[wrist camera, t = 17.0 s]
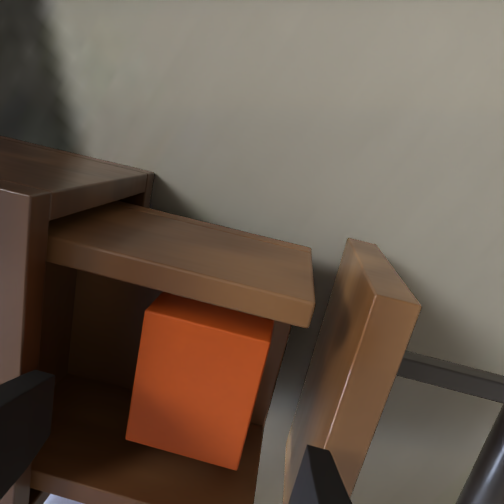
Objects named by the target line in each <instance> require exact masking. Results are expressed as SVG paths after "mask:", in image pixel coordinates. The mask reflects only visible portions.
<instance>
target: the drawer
mask: <svg viewBox="0 0 504 504" xmlns="http://www.w3.org/2000/svg"><path fill="white" fill-rule="evenodd" d="M162 292H167V293H171V294H174V295H178V296H182V297H186V298H190V299H194V300H198V301H202V302H206V303H209V304H213V305H217V306H221V307H225V308H229V309H233V310H237V311H240V312H244V313H248V314H252V315H256V316H260V317H264V318H268V319H271V320H274V326H273V332H272V339H271V344H270V348H269V352H268V356H267V360H266V364H265V367H264V371H263V375H262V379H261V383H260V386H259V390H258V394H257V398H256V402H255V405H254V409H253V413H252V417H251V421H250V424H249V428H248V432H247V436H246V440H245V444H244V447H243V451H242V455H241V459H240V463H239V466H238V469H237V470H232V469H228V468H225V467H221V466H217V465H214V464H210V463H207V462H203V461H200V460H196V459H193V458H189V457H186V456H182V455H179V454H175V453H172V452H168V451H164V450H161V449H157V448H154V447H150V446H147V445H143V444H140V443H136V442H133V441H129V440H126V439H125V436H126V430H127V423H128V417H129V410H130V404H131V397H132V391H133V384H134V378H135V371H136V365H137V358H138V352H139V345H140V339H141V332H142V326H143V319H144V313H145V310H146V309H147V308H148V307H149V306H150V305H151V304H152V303H153V301H154V300H155V299H156V298H157V297H158V296H159V295H160V294H161V293H162ZM315 306H316V304H315V292H314V279H313V267H312V254H311V248H309V247H305V246H301V245H297V244H293V243H289V242H284V241H280V240H276V239H272V238H268V237H264V236H260V235H256V234H252V233H248V232H244V231H240V230H236V229H231V228H227V227H223V226H219V225H215V224H211V223H207V222H203V221H199V220H195V219H191V218H187V217H182V216H178V215H174V214H170V213H166V212H162V211H158V210H154V209H150V208H146V207H142V206H138V205H134V204H129V203H125V202H121V201H114V202H110V203H107V204H104V205H100V206H97V207H94V208H90V209H87V210H84V211H80V212H77V213H74V214H70V215H67V216H64V217H60V218H57V219H54V220H50V221H49V225H48V239H47V254H46V268H45V282H44V296H43V310H42V324H41V338H40V352H39V366H38V370H39V371H42V372H46V373H50V374H53V375H56V377H55V388H54V400H53V411H52V423H51V434H50V436H49V437H48V439H47V440H46V442H45V443H44V445H43V446H42V448H41V449H40V451H39V452H38V454H37V455H36V457H35V458H34V459H33V461H32V465H31V479H30V488H33V489H36V490H40V491H43V492H46V493H50V494H53V495H57V496H60V497H63V498H67V499H70V500H74V501H77V502H80V503H84V504H254V497H255V489H256V482H257V475H258V467H259V460H260V453H261V445H262V438H263V431H264V425H265V421H266V418H267V414H268V410H269V407H270V403H271V399H272V396H273V392H274V389H275V385H276V381H277V378H278V374H279V370H280V367H281V363H282V360H283V356H284V352H285V349H286V345H287V341H288V338H289V334H290V331H291V327H292V325H295V326H299V327H303V328H308V327H309V326H310V323H311V319H312V316H313V313H314V309H315ZM421 308H422V306H421V304H420V303H419V302H418V300H417V299H416V298H415V296H414V295H413V294H412V292H411V291H410V290H409V288H408V287H407V285H406V284H405V283H404V281H403V280H402V279H401V277H400V276H399V275H398V273H397V272H396V271H395V269H394V268H393V266H392V265H391V264H390V262H389V261H388V260H387V258H386V257H385V256H384V254H383V253H382V252H381V250H380V249H379V248H378V246H377V245H376V244H372V243H368V242H364V241H360V240H356V239H352V238H348V239H347V242H346V245H345V249H344V252H343V255H342V259H341V262H340V265H339V269H338V272H337V275H336V279H335V282H334V285H333V289H332V292H331V295H330V299H329V302H328V305H327V309H326V312H325V315H324V319H323V322H322V325H321V329H320V332H319V335H318V339H317V342H316V345H315V349H314V352H313V355H312V359H311V362H310V365H309V369H308V372H307V375H306V379H305V382H304V385H303V389H302V392H301V395H300V399H299V402H298V405H297V409H296V412H295V415H294V419H293V422H292V425H291V429H290V432H289V435H288V439H287V442H286V455H285V473H284V491H283V504H288V503H289V499H290V496H291V493H292V490H293V487H294V484H295V481H296V477H297V474H298V471H299V468H300V465H301V462H302V459H303V455H304V452H305V449H306V446H307V444H308V445H311V446H315V447H319V448H322V449H326V450H329V451H330V452H331V454H332V456H333V459H334V461H335V464H336V467H337V469H338V472H339V474H340V476H341V479H342V481H343V484H344V486H345V488H346V491H347V493H348V495H349V498H350V497H351V494H352V491H353V489H354V486H355V483H356V481H357V478H358V476H359V473H360V470H361V468H362V465H363V462H364V460H365V457H366V454H367V452H368V449H369V446H370V444H371V441H372V438H373V436H374V433H375V430H376V428H377V425H378V422H379V420H380V417H381V414H382V412H383V409H384V406H385V404H386V401H387V398H388V396H389V393H390V391H391V388H392V385H393V383H394V380H395V377H396V375H397V376H401V377H405V378H408V379H412V380H416V381H420V382H424V383H428V384H431V385H435V386H439V387H443V388H447V389H451V390H454V391H458V392H462V393H466V394H470V395H474V396H477V397H481V398H485V399H489V400H493V401H496V402H500V403H504V376H502V375H498V374H494V373H490V372H487V371H483V370H479V369H475V368H471V367H467V366H463V365H459V364H455V363H452V362H448V361H444V360H440V359H436V358H432V357H428V356H424V355H420V354H417V353H413V352H409V351H406V348H407V345H408V343H409V340H410V337H411V335H412V332H413V329H414V327H415V324H416V321H417V319H418V316H419V314H420V311H421ZM456 504H504V404H503V406H502V408H501V410H500V412H499V414H498V416H497V418H496V420H495V422H494V425H493V427H492V429H491V431H490V433H489V435H488V437H487V439H486V441H485V443H484V445H483V447H482V450H481V452H480V454H479V456H478V458H477V460H476V462H475V464H474V466H473V468H472V470H471V472H470V475H469V477H468V479H467V481H466V483H465V485H464V487H463V489H462V491H461V493H460V495H459V497H458V500H457V502H456Z"/></svg>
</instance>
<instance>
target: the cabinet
mask: <svg viewBox="0 0 504 504" xmlns="http://www.w3.org/2000/svg"><path fill="white" fill-rule="evenodd" d="M153 179H154V172H150V171H146V170H142V169H138V168H134V167H130V166H125V165H121V164H117V163H113V162H109V161H104V160H100V159H96V158H92V157H88V156H84V155H79V154H75V153H71V152H67V151H63V150H58V149H54V148H50V147H46V146H42V145H38V144H33V143H29V142H25V141H21V140H17V139H12V138H8V137H4V136H0V384H3V383H5V382H7V381H9V380H12V379H14V378H16V377H18V376H21V375H23V374H26V373H28V372H30V371H33V370H38V366H39V352H40V338H41V324H42V310H43V296H44V282H45V268H46V254H47V239H48V225H49V221H50V220H54V219H57V218H60V217H64V216H67V215H70V214H74V213H77V212H80V211H84V210H87V209H90V208H94V207H97V206H100V205H104V204H107V203H110V202H114V201H121V202H125V203H129V204H134V205H138V206H142V207H146V208H149V207H150V200H151V193H152V186H153ZM31 465H32V462H31V464H30V465H29V466H28V468H27V469H26V470H25V472H24V473H23V474H22V475H21V476H20V478H19V479H18V480H17V481H16V482H15V483H14V485H13V486H12V487H11V488H10V489H9V490H8V492H7V493H6V494H5V495H4V496H3V497H2V499H1V500H0V504H43V503H44V502H45V501H46V499H47V498H48V497H49V495H50V493H46V492H43V491H40V490H36V489H33V488H30V479H31Z"/></svg>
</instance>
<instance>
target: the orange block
mask: <svg viewBox="0 0 504 504" xmlns="http://www.w3.org/2000/svg"><path fill="white" fill-rule="evenodd" d="M273 326H274V320H271V319H268V318H264V317H260V316H256V315H252V314H248V313H244V312H240V311H237V310H233V309H229V308H225V307H221V306H217V305H213V304H209V303H206V302H202V301H198V300H194V299H190V298H186V297H182V296H178V295H174V294H171V293H167V292H162V293H161V294H160V295H159V296H158V297H157V298H156V299H155V300H154V301H153V303H152V304H151V305H150V306H149V307H148V308H147V309H146V310H145V313H144V319H143V326H142V332H141V339H140V345H139V352H138V358H137V365H136V371H135V378H134V384H133V391H132V397H131V404H130V410H129V417H128V423H127V430H126V436H125V439H126V440H129V441H133V442H136V443H140V444H143V445H147V446H150V447H154V448H157V449H161V450H164V451H168V452H172V453H175V454H179V455H182V456H186V457H189V458H193V459H196V460H200V461H203V462H207V463H210V464H214V465H217V466H221V467H225V468H228V469H232V470H237V469H238V466H239V463H240V459H241V455H242V451H243V447H244V444H245V440H246V436H247V432H248V428H249V424H250V421H251V417H252V413H253V409H254V405H255V402H256V398H257V394H258V390H259V386H260V383H261V379H262V375H263V371H264V367H265V364H266V360H267V356H268V352H269V348H270V344H271V339H272V332H273Z"/></svg>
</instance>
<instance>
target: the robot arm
mask: <svg viewBox="0 0 504 504" xmlns="http://www.w3.org/2000/svg"><path fill="white" fill-rule="evenodd" d="M55 377H56V375H53V374H50V373H46V372H42V371H39V370H33V371H30V372H28V373H26V374H23V375H21V376H18V377H16V378H14V379H12V380H9V381H7V382H5V383H3V384H0V500H1V499H2V497H3V496H4V495H5V494H6V493H7V492H8V490H9V489H10V488H11V487H12V486H13V485H14V483H15V482H16V481H17V480H18V479H19V478H20V476H21V475H22V474H23V473H24V472H25V470H26V469H27V468H28V466H29V465H30V464H31V462H32V461H33V459H34V458H35V457H36V455H37V454H38V452H39V451H40V449H41V448H42V446H43V445H44V443H45V442H46V440H47V439H48V437H49V436H50V434H51V423H52V411H53V400H54V388H55ZM43 504H84V503H80V502H77V501H74V500H70V499H67V498H63V497H60V496H57V495H53V494H50V495H49V497H48V498H47V499H46V501H45V502H44V503H43ZM288 504H352V502H351V500H350V498H349V495H348V493H347V491H346V488H345V486H344V484H343V481H342V479H341V476H340V474H339V472H338V469H337V467H336V464H335V461H334V459H333V456H332V454H331V452H330V451H329V450H326V449H322V448H319V447H315V446H311V445H308V444H307V446H306V449H305V452H304V455H303V459H302V462H301V465H300V468H299V471H298V474H297V477H296V481H295V484H294V487H293V490H292V493H291V496H290V499H289V503H288Z"/></svg>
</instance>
